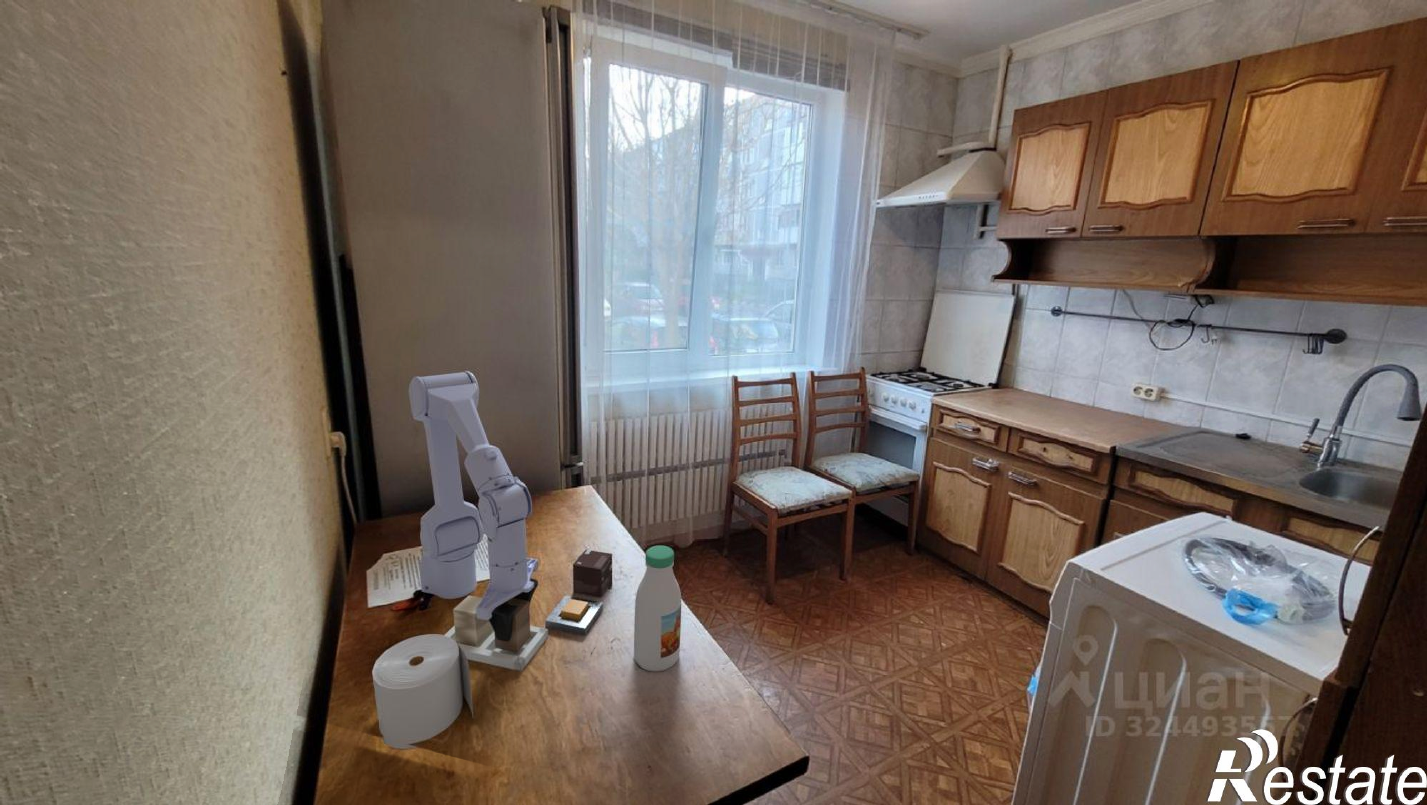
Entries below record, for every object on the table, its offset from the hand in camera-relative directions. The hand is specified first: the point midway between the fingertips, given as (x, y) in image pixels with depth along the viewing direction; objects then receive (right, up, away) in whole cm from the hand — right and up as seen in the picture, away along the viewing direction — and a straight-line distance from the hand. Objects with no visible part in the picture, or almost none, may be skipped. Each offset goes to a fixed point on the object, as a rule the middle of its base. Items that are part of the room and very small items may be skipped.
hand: (511, 630), depth 90 cm
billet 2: (0, -2, +1) cm, 2 cm away
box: (+9, 0, +19) cm, 21 cm away
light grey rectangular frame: (-4, -4, +2) cm, 6 cm away
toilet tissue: (-8, -8, -12) cm, 16 cm away
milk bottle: (+24, -6, +2) cm, 25 cm away
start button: (+8, -2, +9) cm, 13 cm away
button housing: (+8, -3, +9) cm, 13 cm away
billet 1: (-7, -3, +2) cm, 8 cm away
